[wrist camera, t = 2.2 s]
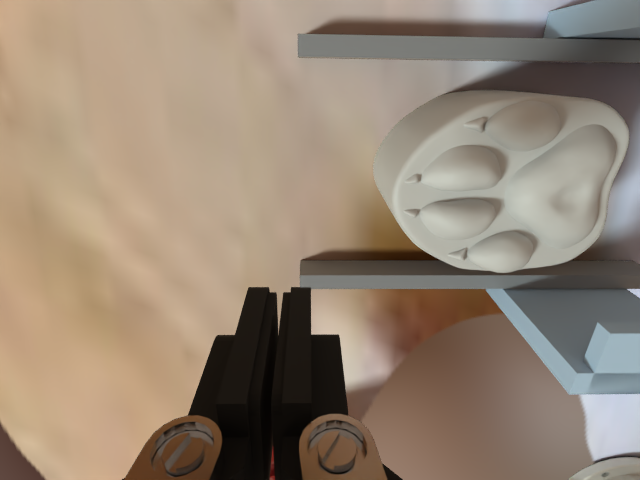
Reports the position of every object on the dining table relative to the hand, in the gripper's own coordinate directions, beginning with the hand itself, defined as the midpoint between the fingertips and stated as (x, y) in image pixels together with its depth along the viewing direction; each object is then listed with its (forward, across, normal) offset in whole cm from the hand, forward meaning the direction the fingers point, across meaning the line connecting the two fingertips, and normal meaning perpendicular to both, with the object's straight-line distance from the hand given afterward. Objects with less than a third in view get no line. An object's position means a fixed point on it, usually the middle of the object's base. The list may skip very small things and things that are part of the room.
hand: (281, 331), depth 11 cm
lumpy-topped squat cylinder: (+19, -12, 0) cm, 23 cm away
